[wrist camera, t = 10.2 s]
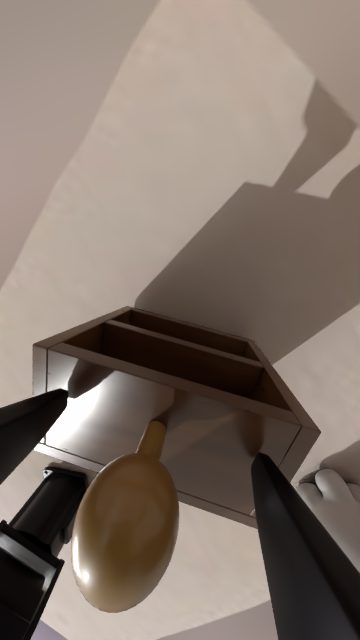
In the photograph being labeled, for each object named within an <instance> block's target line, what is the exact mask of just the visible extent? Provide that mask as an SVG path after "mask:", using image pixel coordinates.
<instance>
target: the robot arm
mask: <svg viewBox="0 0 360 640" xmlns="http://www.w3.org/2000/svg"><path fill="white" fill-rule="evenodd" d="M68 396H69V392H68V390H65V389H62V388H58V389H55V390H52V391H49V392H46V393H43V394H40V395H37V396H34V397H32V398H29V399H26V400H23V401H20V402H17V403H14V404H11V405H8V406H5V407H2V408H0V485H1V484H2V482H3V481H4V480H5V479H6V478H7V477H8V476H9V475H10V474H11V473H12V472H13V471H14V469H15V468H16V467H17V466H18V465H19V464H20V463H21V462H22V461H23V460H24V459H25V458H26V457H27V455H28V454H29V453H30V452H31V451H32V450H33V449H34V448H35V447H36V446H37V445H38V443H39V442H40V441H41V440H42V439H43V437H44V436H45V435H46V434H47V432H48V431H49V430H50V428H51V427H52V426H53V425H54V423H55V422H56V421H57V420H58V418H59V417H60V416H61V415H62V413H63V412H64V411H65V409H66V408H67V405H68ZM43 474H44V480H43V482H42V483H41V484H40V485H39V487H38V488H37V489H36V490H35V492H34V493H33V494H32V495H31V497H30V498H29V499H28V501H27V502H26V503H25V504H24V506H23V507H22V508H21V509H20V511H19V512H18V513H17V514H16V516H15V517H14V518H13V519H12V521H11V522H10V523H9V524H7V522H6V521H5V520H2V521H1V523H0V640H30V639H31V637H32V635H33V633H34V631H35V629H36V626H37V624H38V622H39V620H40V617H41V615H42V613H43V611H44V608H45V606H46V604H47V601H48V599H49V597H50V595H51V592H52V590H53V588H54V585H55V583H56V581H57V579H58V576H59V574H60V572H61V569H62V567H63V565H64V562H65V561H64V560H62V559H58V558H57V556H58V554H59V552H60V551H61V549H62V547H63V545H64V544H67V543H68V542H69V541H70V539H71V537H72V532H73V527H74V522H75V518H76V515H77V511H78V508H79V506H80V503H81V501H82V499H83V497H84V495H85V493H86V490H87V489H88V485H87V476H86V475H85V474H82V473H77V472H72V471H67V470H62V469H57V468H52V467H46V468H45V469H44V470H43ZM251 478H252V487H253V496H254V506H255V514H256V522H257V527H258V533H259V538H260V544H261V549H262V554H263V560H264V565H265V570H266V576H267V581H268V586H269V592H270V597H271V602H272V608H273V613H274V619H275V624H276V629H277V634H278V640H360V572H359V571H358V570H357V569H356V567H355V566H354V565H353V563H352V562H351V561H350V560H349V558H348V557H347V556H346V554H345V553H344V552H343V550H342V549H341V548H340V547H339V545H338V544H337V543H336V541H335V540H334V539H333V538H332V536H331V535H330V534H329V532H328V531H327V530H326V529H325V527H324V526H323V525H322V523H321V522H320V521H319V520H318V518H317V517H316V516H315V514H314V513H313V512H312V511H311V509H310V508H309V507H308V505H307V504H306V503H305V501H304V500H303V499H302V498H301V496H300V495H299V494H298V492H297V491H296V490H295V489H294V487H293V486H292V485H291V483H290V482H289V481H288V480H287V478H286V477H285V476H284V474H283V473H282V472H281V471H280V469H279V468H278V467H277V465H276V464H275V463H274V462H273V460H272V459H271V458H270V456H268V455H267V454H264V453H261V452H258V453H257V455H256V457H255V459H254V461H253V463H252V465H251Z"/></svg>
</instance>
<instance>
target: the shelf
mask: <svg viewBox="0 0 360 640" xmlns="http://www.w3.org/2000/svg"><path fill="white" fill-rule="evenodd" d="M58 388H62V389H65V390H68V392H69V396H68V405H67V408H66V409H65V411H64V412H63V413H62V415H61V416H60V417H59V418H58V420H57V421H56V422H55V423H54V425H53V426H52V427H51V428H50V430H49V431H48V432H47V434H46V435H45V436H44V437H43V439H42V440H41V441H40V442H39V443H38V445H37V446H36V447H35V448H34V449H33V450H35V451H38V452H40V453H43V454H46V455H49V456H52V457H55V458H57V459H60V460H63V461H66V462H69V463H72V464H75V465H77V466H80V467H83V468H86V469H89V470H92V471H94V472H97V473H98V474H97V476H96V477H95V478H94V480H93V481H92V482H91V484H90V486H89V487H88V489H87V490H86V493H85V495H84V497H83V499H82V501H81V503H80V506H79V508H78V511H77V515H76V518H75V522H74V527H73V532H72V541H71V560H72V568H73V573H74V577H75V580H76V583H77V585H78V587H79V590H80V592H81V593H82V594H83V596H84V597H85V599H86V600H87V601H88V602H89V603H90V604H91V605H92V606H93V607H95V608H97V609H99V610H100V611H104V612H108V613H118V612H122V611H126V610H128V609H130V608H132V607H134V606H136V605H137V604H139V603H140V602H142V601H143V600H144V599H145V598H146V597H147V596H148V595H149V594H150V593H151V592H152V591H153V590H154V588H155V587H156V586H157V585H158V583H159V581H160V580H161V578H162V576H163V575H164V573H165V571H166V569H167V567H168V565H169V563H170V560H171V557H172V554H173V551H174V548H175V544H176V540H177V535H178V528H179V503H178V501H180V502H182V503H185V504H188V505H191V506H194V507H197V508H199V509H202V510H205V511H208V512H211V513H214V514H217V515H219V516H222V517H225V518H228V519H231V520H234V521H236V522H239V523H242V524H245V525H248V526H251V527H253V528H256V529H258V527H257V522H256V514H255V506H254V496H253V487H252V478H251V465H252V463H253V461H254V459H255V457H256V455H257V453H258V452H261V453H264V454H267V455H268V456H270V458H271V459H272V460H273V462H274V463H275V464H276V465H277V467H278V468H279V469H280V471H281V472H282V473H283V474H284V476H285V477H286V478H287V480H288V481H289V482H291V480H292V478H293V477H294V475H295V474H296V472H297V470H298V469H299V467H300V466H301V464H302V462H303V461H304V459H305V458H306V456H307V454H308V453H309V451H310V450H311V448H312V446H313V445H314V443H315V442H316V440H317V438H318V437H319V435H320V434H321V431H320V430H319V428H318V427H317V426H316V424H315V423H314V422H313V420H312V419H311V417H310V416H309V415H308V413H307V412H306V411H305V409H304V408H303V407H302V405H301V404H300V403H299V401H298V400H297V399H296V397H295V396H294V395H293V393H292V392H291V391H290V389H289V388H288V386H287V385H286V384H285V382H284V381H283V380H282V378H281V377H280V376H279V374H278V373H277V372H276V370H275V369H274V368H273V366H272V365H271V364H270V362H269V361H268V359H267V358H266V357H265V355H264V354H263V353H262V351H261V350H260V349H259V347H258V346H257V345H256V343H255V342H254V341H252V340H249V339H245V338H241V337H237V336H234V335H230V334H227V333H223V332H219V331H216V330H212V329H208V328H205V327H201V326H198V325H194V324H190V323H187V322H183V321H180V320H176V319H172V318H169V317H165V316H161V315H158V314H154V313H151V312H147V311H143V310H140V309H136V308H132V307H129V306H126V307H124V308H121V309H119V310H116V311H114V312H111V313H109V314H106V315H104V316H101V317H99V318H96V319H94V320H91V321H89V322H86V323H84V324H81V325H79V326H76V327H74V328H71V329H69V330H67V331H64V332H62V333H59V334H57V335H54V336H52V337H49V338H47V339H44V340H42V341H39V342H37V343H34V344H33V397H34V396H37V395H40V394H43V393H46V392H49V391H52V390H55V389H58Z"/></svg>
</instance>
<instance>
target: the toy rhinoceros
mask: <svg viewBox="0 0 360 640" xmlns="http://www.w3.org/2000/svg"><path fill="white" fill-rule="evenodd" d="M315 481H316V484H317V486H318V487H319V488H318V487H317V486H316V485H314V484H312V483H302V484H300V485H299V486H298V487H297V492H298V494H299V495H300V496H301V498H302V499H303V500H304V501H305V503H306V504H307V505H308V507H309V508H310V509H311V511H312V512H313V513H314V514H315V516H316V517H317V518H318V520H319V521H320V522H321V523H322V525H323V526H324V527H325V529H326V530H327V531H328V532H329V534H330V535H331V536H332V538H333V539H334V540H335V541H336V543H337V544H338V545H339V547H340V548H341V549H342V550H343V552H344V553H345V554H346V556H347V557H348V558H349V560H350V561H351V562H352V563H353V565H354V566H355V567H356V569H357V570H358V571H359V572H360V485H357V484H353V483H345V482H344V480H343V479H342V478H341V476H340V475H339V474H338V473H337V472H336V471H334V470H332V469H323V470H320V471H318V472H317V473H316V475H315ZM320 490H321V491H320ZM322 493H323V494H322Z"/></svg>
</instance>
